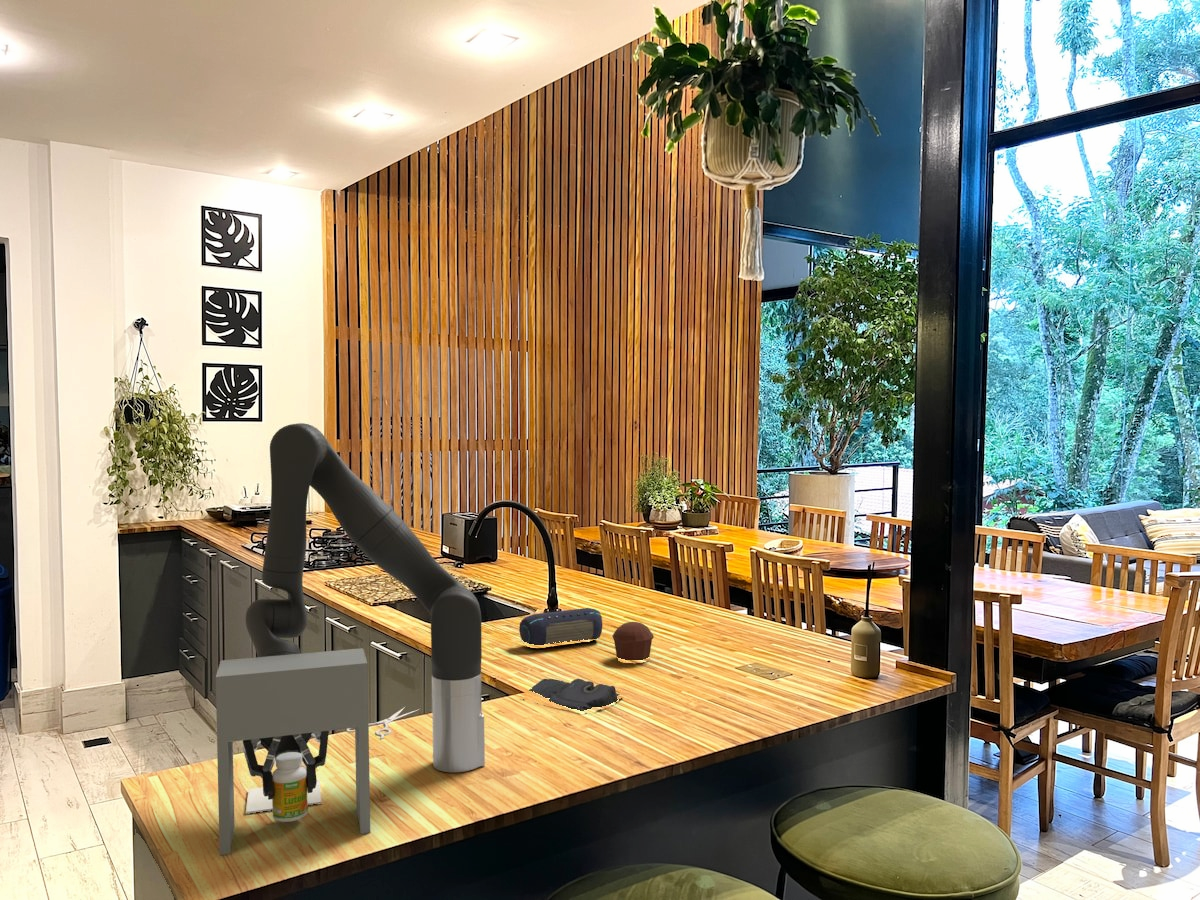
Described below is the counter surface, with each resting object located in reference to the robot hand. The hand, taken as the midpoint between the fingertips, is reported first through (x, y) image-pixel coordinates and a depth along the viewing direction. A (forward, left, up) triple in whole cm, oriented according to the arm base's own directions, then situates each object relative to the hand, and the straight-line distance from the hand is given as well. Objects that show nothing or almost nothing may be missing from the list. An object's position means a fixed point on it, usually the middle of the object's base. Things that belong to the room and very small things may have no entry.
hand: (290, 793), depth 144 cm
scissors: (-20, -48, -6) cm, 52 cm away
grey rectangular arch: (-1, +1, -5) cm, 6 cm away
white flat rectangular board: (+1, -13, -5) cm, 14 cm away
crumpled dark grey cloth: (-62, -49, -6) cm, 79 cm away
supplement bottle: (0, -2, -4) cm, 5 cm away
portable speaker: (-75, -99, -6) cm, 124 cm away
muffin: (-88, -77, -6) cm, 117 cm away
